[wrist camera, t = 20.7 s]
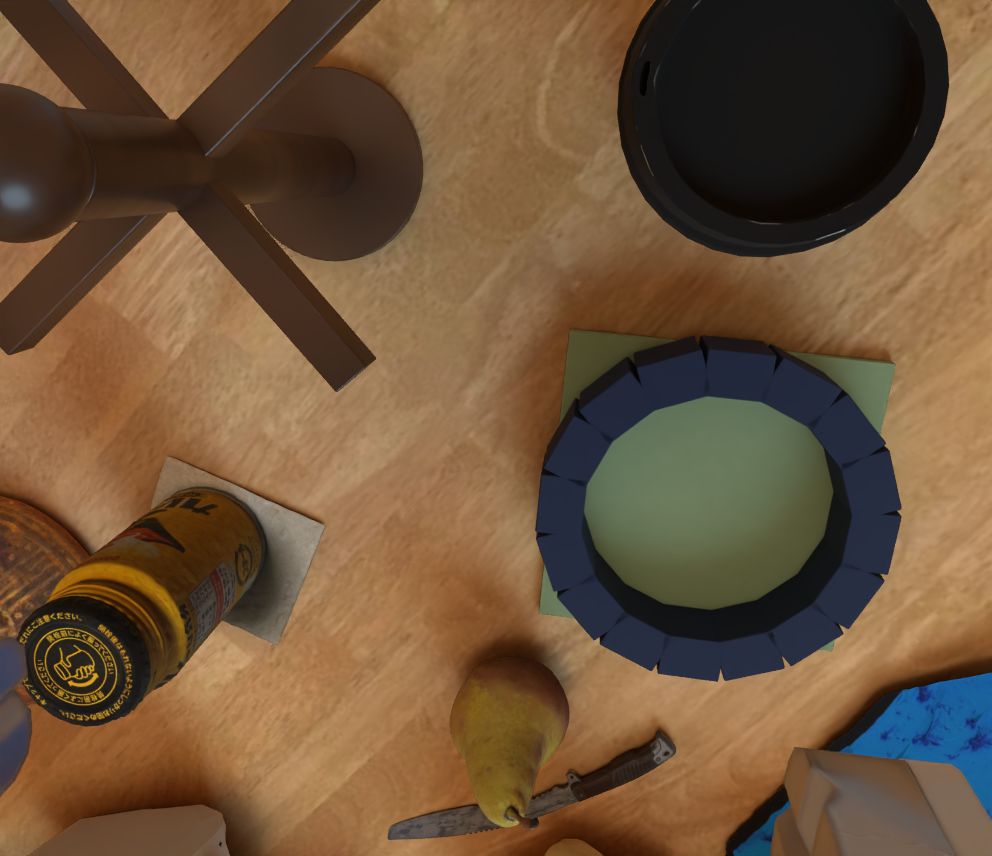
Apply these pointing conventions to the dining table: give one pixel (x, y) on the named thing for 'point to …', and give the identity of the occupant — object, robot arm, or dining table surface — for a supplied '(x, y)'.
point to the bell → (30, 564)
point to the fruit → (508, 733)
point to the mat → (709, 484)
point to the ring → (781, 612)
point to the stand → (206, 171)
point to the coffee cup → (779, 115)
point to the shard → (906, 744)
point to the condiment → (164, 595)
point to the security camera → (143, 834)
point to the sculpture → (572, 848)
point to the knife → (557, 798)
